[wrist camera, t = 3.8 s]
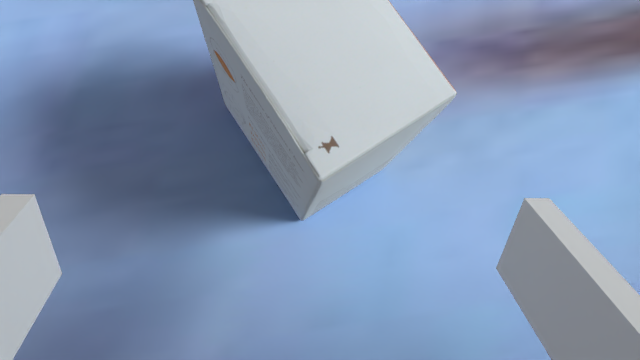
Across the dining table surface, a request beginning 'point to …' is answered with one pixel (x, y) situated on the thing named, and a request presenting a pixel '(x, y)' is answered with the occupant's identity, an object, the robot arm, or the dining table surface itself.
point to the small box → (322, 88)
